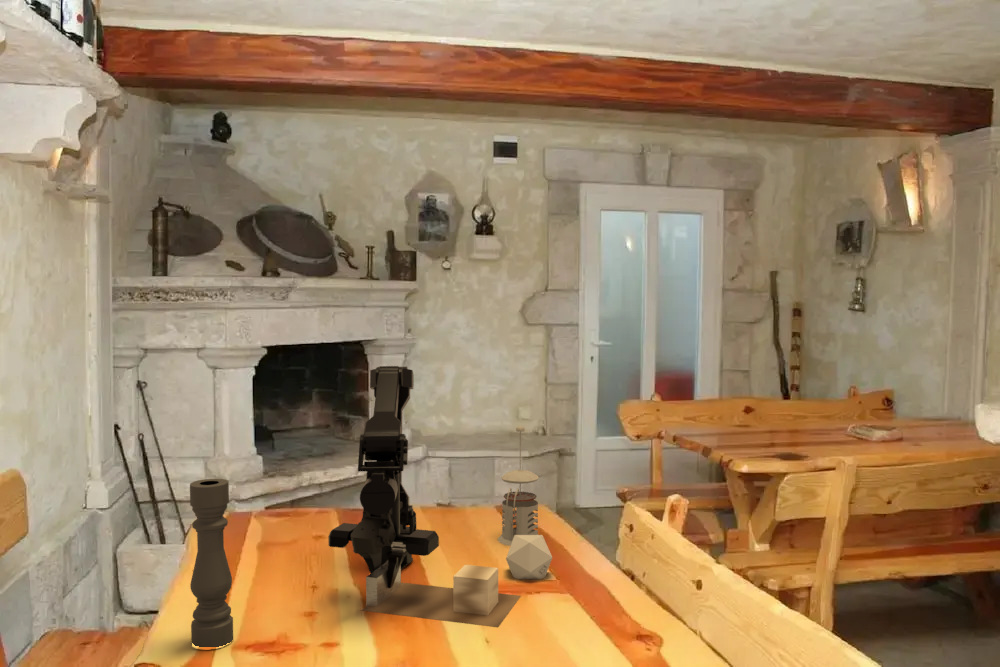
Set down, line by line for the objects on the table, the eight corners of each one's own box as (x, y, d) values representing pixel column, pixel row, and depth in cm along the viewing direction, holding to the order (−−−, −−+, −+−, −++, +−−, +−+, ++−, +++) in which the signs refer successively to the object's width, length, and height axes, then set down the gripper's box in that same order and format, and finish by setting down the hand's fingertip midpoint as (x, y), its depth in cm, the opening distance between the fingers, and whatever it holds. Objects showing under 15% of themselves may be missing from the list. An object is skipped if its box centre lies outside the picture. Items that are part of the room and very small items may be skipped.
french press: (547, 535, 184) (548, 423, 183) (532, 551, 173) (533, 432, 172) (505, 531, 187) (505, 421, 186) (488, 546, 176) (488, 429, 175)
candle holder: (197, 634, 132) (194, 478, 131) (237, 632, 133) (234, 477, 131) (186, 651, 126) (182, 488, 124) (228, 649, 126) (225, 487, 125)
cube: (453, 611, 139) (453, 576, 139) (465, 598, 145) (465, 564, 144) (487, 615, 137) (487, 579, 137) (498, 602, 143) (498, 567, 143)
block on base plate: (361, 614, 140) (360, 581, 139) (395, 586, 153) (394, 555, 153) (498, 632, 133) (498, 596, 132) (521, 600, 146) (521, 567, 146)
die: (537, 594, 151) (564, 546, 153) (494, 568, 152) (522, 520, 155) (534, 594, 159) (560, 548, 162) (494, 569, 160) (521, 524, 163)
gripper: (312, 507, 140) (313, 598, 141) (415, 515, 135) (416, 610, 135) (342, 491, 150) (343, 575, 151) (439, 498, 145) (440, 586, 146)
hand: (384, 586), depth 146 cm, fingers closed on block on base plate, 2 cm apart
